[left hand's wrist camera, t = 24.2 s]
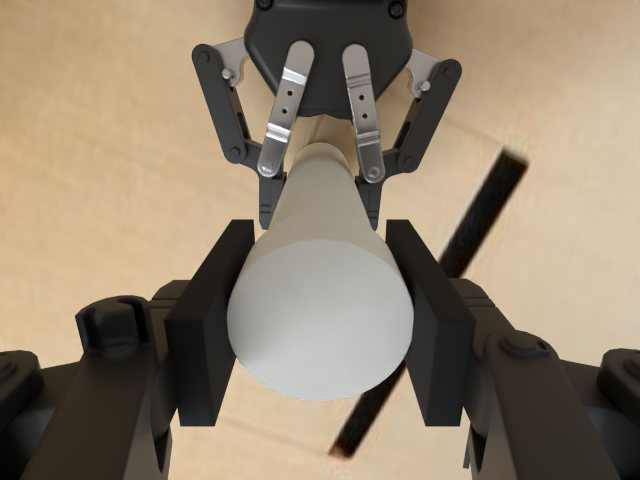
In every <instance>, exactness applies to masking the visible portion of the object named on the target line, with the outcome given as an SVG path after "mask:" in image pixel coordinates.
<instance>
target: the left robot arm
mask: <svg viewBox="0 0 640 480" xmlns="http://www.w3.org/2000/svg"><path fill="white" fill-rule="evenodd" d="M385 243H386V244H387V246H388V248H389V249H390V251H391V253H392V255H393V257H394V259H395V262H396V264H397V266H398V268H399V271H400V273H401V275H402V277H403V280H404V282H405V284H406V287H407V289H408V291H409V294H410V296H411V299H412V303H413V308H414V319H413V330H412V339H411V343H410V346H409V348H408V351H407V353H406V354H405V356H404V359H405V362H406V365H407V369H408V372H409V375H410V378H411V381H412V384H413V388H414V391H415V394H416V397H417V400H418V404H419V407H420V410H421V413H422V416H423V420H424V423H425V426H460V422H461V415H462V409H463V406H464V409H465V411H466V413H467V415H468V418H469V420H470V422H471V423H470V429H469V435H468V440H467V446H466V452H465V458H464V465H463V468H467V469H469V463H470V464H471V472H472V479H473V480H640V350H635V349H634V350H632V349H623V348H619V349H612V350H609V351H608V352H606V353H605V354H604V355H603V359H602V362H601V365H600V367H596V366H590V365H585V364H580V363H575V362H570V361H565V360H561V359H559V357H558V355H557V353H556V351H555V350H554V349H553V348H552V346H551V345H550V344H549V343H547V342H546V341H544V340H542V339H541V338H539V337H537V336H535V335H532V334H530V333H527V332H524V331H519V330H515V329H514V327H513V326H512V325H511V324H510V322H509V321H508V320H507V319H506V317H505V316H504V315H503V314H502V313H501V311H500V310H499V309H498V308H497V307H495V304H494V303H493V302H492V300H491V299H489V297H488V295H487V294H486V293H485V292H484V291H483V289H482V288H481V287H480V286H478V285H476V284H475V283H473V282H471V281H470V280H468V279H448V277H447V276H446V274H445V273H444V271H443V270H442V268H441V267H440V266H439V264H438V263H437V261H436V260H435V258H434V257H433V255H432V254H431V252H430V251H429V249H428V248H427V246H426V245H425V243H424V242H423V241H422V239H421V238H420V236H419V235H418V233H417V232H416V230H415V229H414V227H413V226H412V224H411V223H410V221H409V220H387V223H386V239H385ZM254 244H255V236H254V220H231V222H230V223H229V225H228V226H227V228H226V229H225V231H224V232H223V234H222V235H221V236H220V238H219V239H218V241H217V242H216V244H215V245H214V247H213V248H212V250H211V251H210V253H209V254H208V256H207V257H206V259H205V260H204V261H203V263H202V264H201V266H200V267H199V269H198V270H197V272H196V273H195V275H194V276H193V278H192V279H191V280H173V281H171V282H170V283H168V284H166V285H165V286H163V287H161V288H160V289H159V290H158V291H157V292H156V294H155V295H154V296H153V297H152V300H150V301H147V300H146V299H144V298H143V297H139V296H134V295H124V296H115V297H110V298H105V299H103V300H100V301H97V302H94V303H92V304H90V305H88V306H86V307H85V308H83V309H81V310H80V311H79V312H78V313H77V314H76V315H75V318H76V322H77V326H78V330H79V335H80V339H81V343H82V347H83V351H84V353H83V355H82V357H81V359H80V361H78V362H74V363H70V364H64V365H59V366H54V367H49V368H44V369H41V368H40V364H39V361H38V358H37V356H36V355H35V354H34V353H32V352H30V351H23V350H16V351H5V352H0V480H168V472H169V465H170V457H171V449H172V435H171V429H170V422H171V420H172V418H173V416H174V413H175V411H176V409H177V408H178V414H179V420H180V426H215V424H216V420H217V417H218V414H219V411H220V408H221V404H222V401H223V398H224V395H225V392H226V388H227V385H228V382H229V379H230V376H231V372H232V369H233V366H234V363H235V360H236V355H235V353H234V351H233V349H232V346H231V344H230V341H229V336H228V327H227V307H228V302H229V299H230V296H231V293H232V290H233V288H234V286H235V284H236V281H237V279H238V277H239V274H240V272H241V270H242V268H243V265H244V263H245V261H246V258H247V256H248V254H249V252H250V250H251V249H252V247H253V245H254Z"/></svg>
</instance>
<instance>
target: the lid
mask: <svg viewBox="0 0 640 480" xmlns="http://www.w3.org/2000/svg"><path fill="white" fill-rule="evenodd" d="M413 319H414V308H413V303H412V299H411V296H410V294H409V291H408V289H407V287H406V284H405V282H404V280H403V277H402V275H401V273H400V271H399V268H398V266H397V264H396V262H395V259H394V257H393V255H392V253H391V251H390V249H389V248H388V246H387V244H386V243H385V242H384V241H383V239H382V238H381V237H380V236H379V235H378V234H377V233H376V232H375V231H374V230H372V229H371V228H370V227H368V226H367V225H366V224H364V223H362V222H360V221H358V220H356V219H354V218H351V217H349V216H346V215H342V214H338V213H332V212H309V213H302V214H299V215H295V216H292V217H289V218H287V219H284V220H282V221H280V222H279V223H277V224H275V225H274V226H272V227H271V228H270V229H268V230H267V231H266V232H265V233H264V234H263V235H262V236H261V237H260V238H259V239H258V240H257V241H256V243H255V244H254V245H253V247H252V249H251V250H250V252H249V254H248V256H247V258H246V261H245V263H244V265H243V268H242V270H241V272H240V274H239V277H238V279H237V281H236V284H235V286H234V288H233V290H232V293H231V296H230V299H229V302H228V307H227V327H228V336H229V341H230V344H231V346H232V349H233V351H234V353H235V355H236V357H237V358H238V360H239V362H240V363H241V364H242V366H243V367H244V368H245V369H246V371H247V372H249V373H250V374H251V375H252V376H253V377H254V378H255V379H256V380H258V381H259V382H260V383H262V384H263V385H264V386H266V387H268V388H270V389H271V390H273V391H276V392H278V393H280V394H282V395H285V396H288V397H292V398H296V399H301V400H307V401H334V400H340V399H345V398H349V397H352V396H355V395H358V394H361V393H363V392H365V391H367V390H369V389H371V388H373V387H374V386H376V385H378V384H379V383H381V382H382V381H383V380H384V379H386V378H387V377H388V376H389V375H390V374H391V373H392V372H393V371H394V370H395V369H396V368H397V367H398V365H399V364H400V363H401V361H402V360H403V358H404V356H405V354H406V353H407V351H408V348H409V346H410V343H411V339H412V330H413Z"/></svg>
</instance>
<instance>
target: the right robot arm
mask: <svg viewBox="0 0 640 480" xmlns="http://www.w3.org/2000/svg"><path fill="white" fill-rule="evenodd" d="M407 4H408V0H254V9H253V13H252V16H251V19H250V21H249V23H248V25H247V27H246V29H245V32H244V37H242V38H239V39H235V40H232V41H229V42H225V43H222V44H218V45H215V46H211V45H206V44H199V45H197V46H196V47H195V48H194V49H193V51H192V61H193V64H194V67H195V70H196V73H197V76H198V79H199V82H200V84H201V87H202V90H203V93H204V96H205V99H206V102H207V105H208V108H209V111H210V114H211V117H212V120H213V123H214V126H215V129H216V132H217V135H218V138H219V141H220V144H221V147H222V150H223V153H224V156H225V158H226V159H227V160H228V161H229V162H231V163H234V164H238V163H240V164H242V165H245V166H247V167H250V168H252V169H253V170H254V171H255V172H256V173H257V174H258V177H259V222H260V224H261V227H262V229H263V230H268V228H269V226H270V223H271V220H272V218H273V215H274V212H275V210H276V207H277V204H278V202H279V199H280V196H281V193H282V191H283V188H284V185H285V183H286V180H287V172H283V162H284V161H283V160H284V157H285V154H286V151H287V148H288V144H289V141H290V138H291V135H292V132H293V129H294V126H295V123H296V120H297V117H298V116H300V117H312V116H316V115H321V114H327V115H330V116H332V117H335V118H338V119H349V120H350V125H351V130H352V134H353V138H354V143H355V148H356V153H357V158H358V164H359V176H355V185H356V187H357V190H358V193H359V195H360V198H361V201H362V203H363V206H364V209H365V211H366V214H367V217H368V219H369V222H370V225H371V227H372V230H374V231H376V229H377V226H378V217H379V208H380V199H381V191H382V185H383V183H384V181H385V180H386V179H387V178H389V177H390V176H393V175H396V174H400V173H403V172H404V173H411V172H413V171H415V170H416V169H417V168H418V166H419V164H420V162H421V160H422V158H423V156H424V153H425V151H426V149H427V147H428V145H429V143H430V141H431V138H432V136H433V134H434V132H435V130H436V128H437V126H438V124H439V121H440V119H441V117H442V115H443V113H444V111H445V109H446V107H447V104H448V102H449V100H450V98H451V96H452V94H453V92H454V89H455V87H456V85H457V83H458V81H459V79H460V77H461V74H462V68H461V65H460V63H459V62H458V61H456V60H454V59H448V60H443V61H442V60H439V59H437V58H435V57H432V56H430V55H428V54H425V53H423V52H421V51H419V50H416V49H414V48H413V42H412V38H411V35H410V33H409V30H408V26H407V19H406V14H407ZM250 58H251V60H252V62H253V63H254V65H255V66H256V68H257V69H258V71H259V73H260V74H261V76H262V77H263V79H264V80H265V82H266V83H267V85H268V87H269V88H270V90H271V91H272V93H273V94H274V96H275V98H276V99H275V102H274V105H273V109H272V112H271V115H270V119H269V122H268V126H267V132H266V136H265V139H264V142H263V145H262V144H260V143H257V142H255V141H253V140H252V139H251V136H250V133H249V130H248V126H247V123H246V120H245V117H244V113H243V110H242V107H241V104H240V100H239V97H238V94H237V91H236V88H235V87H236V86H239V85H240V84H241V83H242V81H243V79H244V72H243V67H244V64H245V62H246V61H247V60H248V59H250ZM403 68H404V69H406V71H407V72H408V74H409V82H408V92H409V94H410V95H411V96H412V97H414V100H413V102H412V104H411V107H410V109H409V111H408V114H407V116H406V118H405V120H404V123H403V125H402V127H401V129H400V132H399V134H398V136H397V139H396V141H395V143H394V145H393V148H392V149H389V150H386V151H382V149H381V143H380V130H379V124H378V119H377V113H376V107H375V103H376V101H377V100H378V99H379V98H380V96H381V95H382V94H383V93H384V92H385V90H386V89H387V88H388V87H389V85H390V84H391V83H392V82H393V81H394V79H395V78H396V77H397V76H398V74H399V73H400V72H401V71H402V70H403Z"/></svg>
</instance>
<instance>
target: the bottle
mask: <svg viewBox="0 0 640 480" xmlns="http://www.w3.org/2000/svg"><path fill="white" fill-rule="evenodd" d="M309 212H332V213H338V214H342V215H346V216H349V217H351V218H354V219H356V220H358V221H360V222H362V223H364V224H366V225H367V226H368V227H370V228H371V229H372V227H371V225H370V222H369V219H368V217H367V214H366V211H365V209H364V206H363V203H362V201H361V198H360V195H359V193H358V190H357V187H356V185H355V182H354V179H353V177H352V174H351V171H350V169H349V166H348V163H347V161H346V158H345V156H344V155H343V153H342V152H341V151H340V150H339V149H338V148H336V147H335V146H333V145H331V144H328V143H323V142H318V143H312V144H309V145H307V146H305V147H304V148H303V149H301V150H300V151H299V152H298V154H297V155H296V157H295V159H294V161H293V164H292V167H291V169H290V172H289V175H288V177H287V180H286V183H285V185H284V188H283V191H282V193H281V196H280V199H279V202H278V204H277V207H276V210H275V212H274V215H273V218H272V220H271V223H270V226H269V228H268V229H270V228H271V227H272V226H274V225H275V224H277V223H279V222H280V221H282V220H284V219H287V218H289V217H292V216H295V215H299V214H302V213H309Z"/></svg>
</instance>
